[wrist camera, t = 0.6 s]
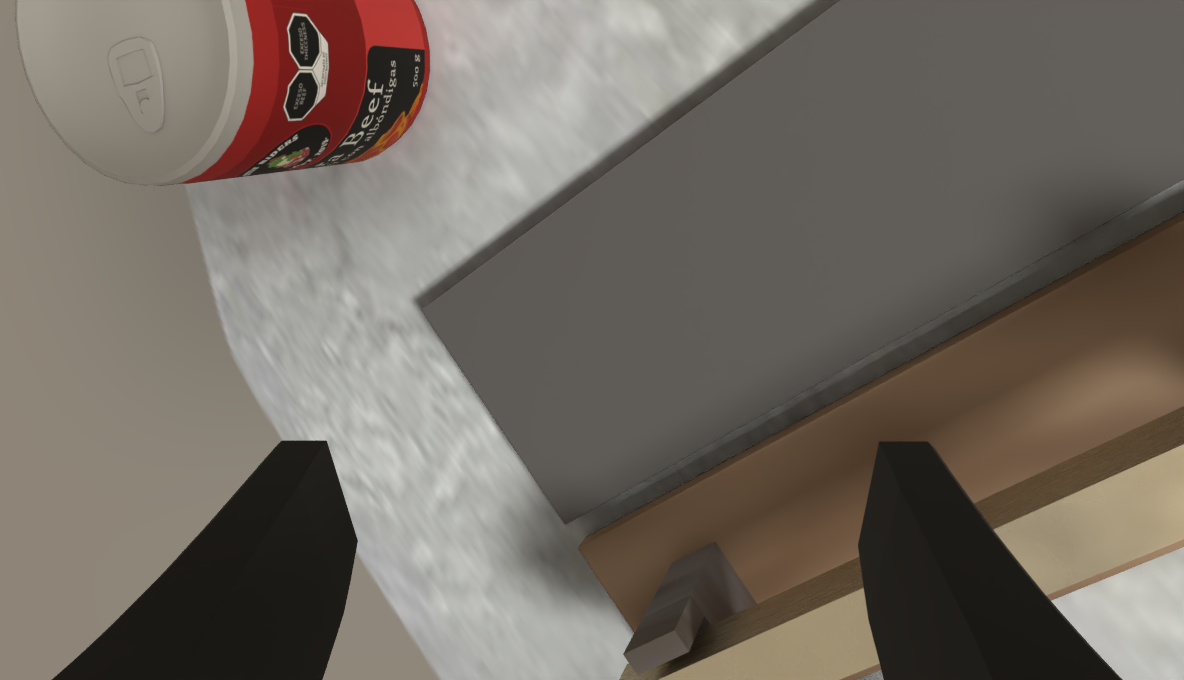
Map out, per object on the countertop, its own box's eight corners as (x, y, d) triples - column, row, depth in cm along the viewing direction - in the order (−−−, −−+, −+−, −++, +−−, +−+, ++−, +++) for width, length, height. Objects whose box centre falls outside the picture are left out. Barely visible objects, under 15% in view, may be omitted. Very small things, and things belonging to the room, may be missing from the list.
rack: (1534, 384, 26) (1740, 482, 20) (711, 724, 37) (666, 858, 31) (1361, 114, 26) (1510, 121, 19) (586, 537, 37) (513, 632, 31)
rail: (1510, 355, 22) (1569, 381, 20) (662, 717, 32) (645, 758, 30) (1460, 277, 22) (1514, 296, 20) (627, 664, 32) (607, 702, 30)
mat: (1341, 84, 26) (1353, 84, 25) (572, 516, 37) (565, 524, 36) (1145, -222, 26) (1152, -231, 25) (431, 305, 37) (421, 309, 36)
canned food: (326, 197, 37) (106, 234, 27) (227, 15, 37) (-35, -16, 27) (475, 99, 34) (289, 100, 24) (369, -101, 34) (135, -185, 24)
